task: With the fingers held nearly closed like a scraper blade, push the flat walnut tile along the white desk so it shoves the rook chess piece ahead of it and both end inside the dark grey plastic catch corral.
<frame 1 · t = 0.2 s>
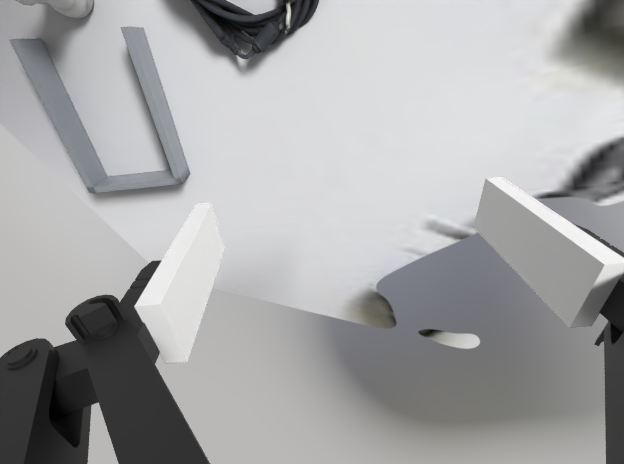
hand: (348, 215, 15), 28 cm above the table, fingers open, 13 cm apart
catch corral: (121, 114, 38), on the table
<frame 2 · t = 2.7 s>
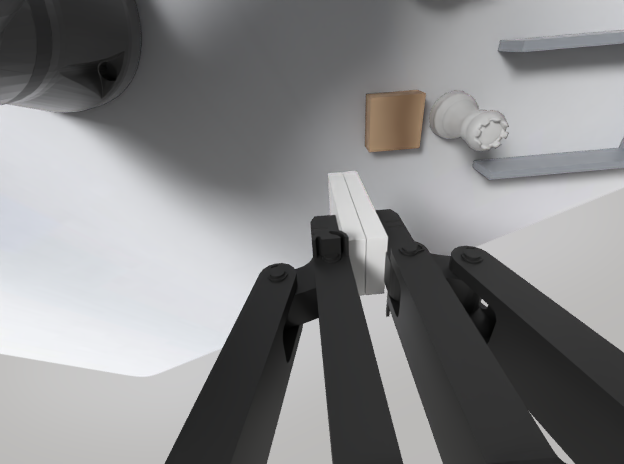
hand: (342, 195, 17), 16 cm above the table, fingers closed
rook chess piece: (448, 113, 31), on the table
walnut tile: (389, 118, 31), on the table
catch corral: (567, 103, 31), on the table
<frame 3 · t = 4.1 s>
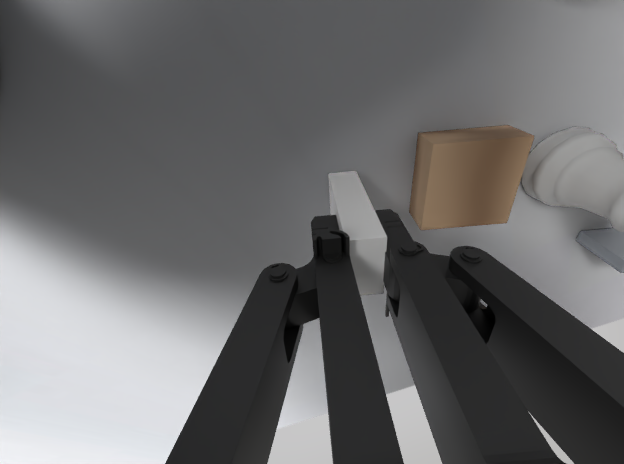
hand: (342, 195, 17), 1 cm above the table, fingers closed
rook chess piece: (552, 161, 18), on the table
walnut tile: (452, 169, 18), on the table
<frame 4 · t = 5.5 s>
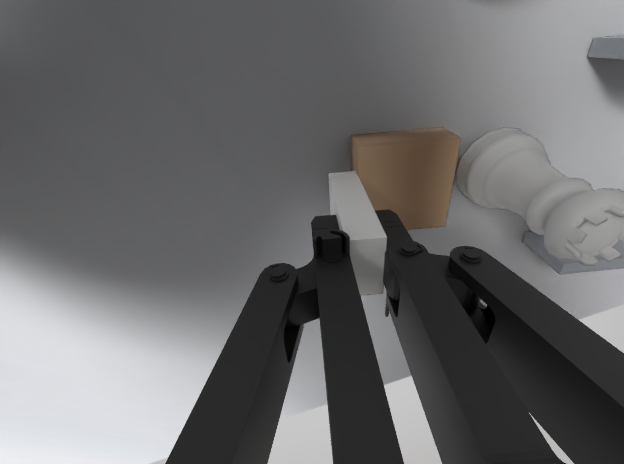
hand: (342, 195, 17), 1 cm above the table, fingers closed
rook chess piece: (488, 162, 18), on the table
walnut tile: (392, 172, 18), on the table, touching gripper
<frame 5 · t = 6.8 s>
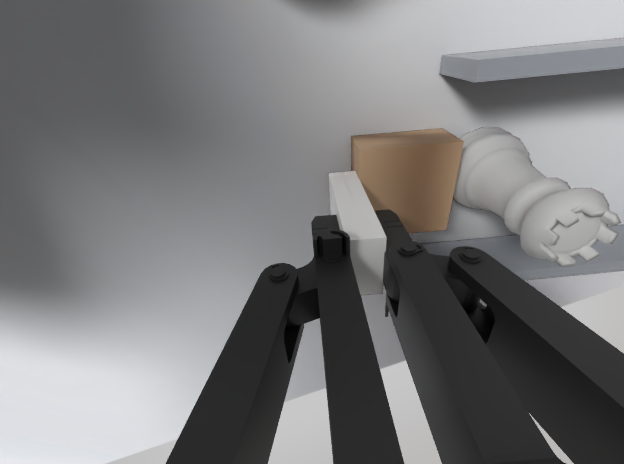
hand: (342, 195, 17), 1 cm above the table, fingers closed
rook chess piece: (472, 162, 18), on the table, touching walnut tile
walnut tile: (393, 175, 18), on the table, touching gripper, rook chess piece
catch corral: (569, 158, 18), on the table
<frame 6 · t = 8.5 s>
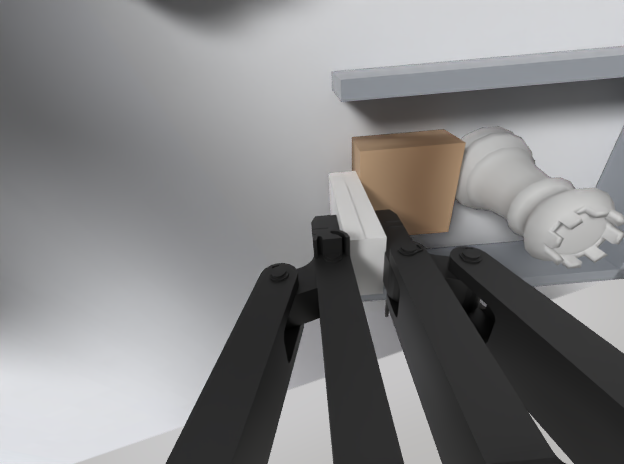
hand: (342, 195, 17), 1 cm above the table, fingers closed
rook chess piece: (474, 162, 18), on the table, touching walnut tile
walnut tile: (394, 176, 18), on the table, touching gripper, rook chess piece
catch corral: (478, 173, 18), on the table
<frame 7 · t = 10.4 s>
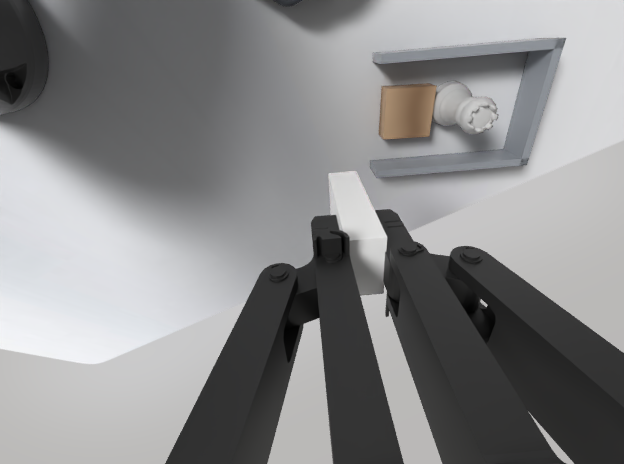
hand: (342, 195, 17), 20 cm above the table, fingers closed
rook chess piece: (445, 102, 34), on the table
walnut tile: (401, 109, 34), on the table
catch corral: (446, 108, 34), on the table
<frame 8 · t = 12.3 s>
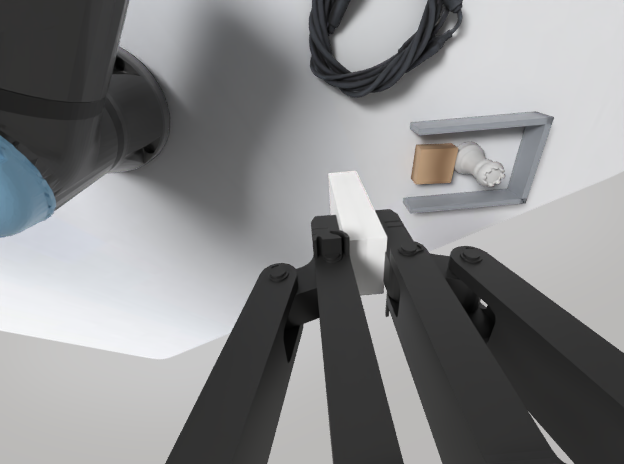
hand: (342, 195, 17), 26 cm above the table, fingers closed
rook chess piece: (463, 155, 44), on the table
cable: (370, 17, 35), on the table
walnut tile: (429, 160, 44), on the table
catch corral: (464, 160, 44), on the table
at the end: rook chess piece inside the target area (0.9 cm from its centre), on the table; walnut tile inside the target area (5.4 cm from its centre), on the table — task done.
